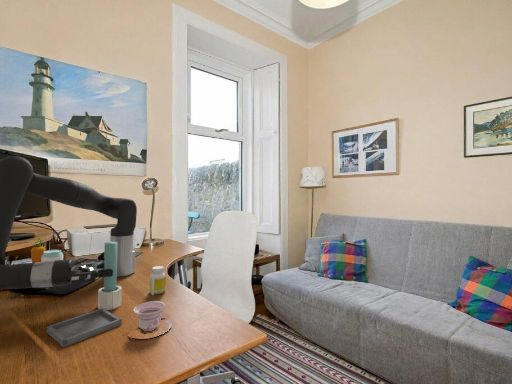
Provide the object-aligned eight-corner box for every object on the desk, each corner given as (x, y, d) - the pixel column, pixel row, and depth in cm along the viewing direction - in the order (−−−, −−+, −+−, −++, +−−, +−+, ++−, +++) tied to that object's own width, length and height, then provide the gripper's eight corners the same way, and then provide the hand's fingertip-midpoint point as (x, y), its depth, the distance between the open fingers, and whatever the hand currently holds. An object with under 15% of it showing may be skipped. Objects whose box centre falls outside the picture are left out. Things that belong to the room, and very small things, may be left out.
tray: (102, 315, 83) (102, 308, 83) (121, 327, 77) (121, 319, 77) (46, 335, 72) (46, 326, 72) (63, 350, 65) (63, 341, 65)
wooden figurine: (47, 270, 124) (47, 237, 124) (49, 266, 129) (50, 234, 129) (65, 268, 127) (66, 236, 127) (67, 265, 132) (67, 234, 132)
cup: (114, 301, 93) (115, 284, 93) (125, 307, 89) (125, 288, 89) (94, 308, 88) (94, 289, 87) (104, 314, 84) (104, 294, 84)
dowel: (112, 302, 91) (113, 241, 90) (118, 304, 89) (119, 242, 88) (101, 305, 88) (102, 242, 88) (106, 308, 86) (108, 244, 85)
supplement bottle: (168, 292, 102) (168, 266, 102) (158, 298, 97) (159, 270, 96) (156, 290, 104) (156, 264, 103) (146, 296, 98) (146, 268, 98)
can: (67, 278, 114) (67, 249, 114) (52, 284, 107) (53, 253, 107) (51, 277, 115) (51, 248, 115) (36, 283, 108) (36, 252, 108)
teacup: (143, 346, 68) (144, 321, 68) (115, 331, 74) (116, 309, 74) (180, 326, 78) (181, 304, 78) (153, 315, 85) (153, 294, 84)
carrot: (37, 274, 118) (37, 239, 117) (27, 273, 119) (28, 239, 118) (48, 271, 122) (48, 237, 122) (38, 270, 123) (39, 237, 123)
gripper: (45, 267, 76) (112, 262, 82) (60, 255, 89) (116, 251, 95) (45, 294, 76) (112, 287, 82) (60, 278, 89) (116, 273, 95)
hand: (114, 268), depth 89 cm, fingers open, 8 cm apart
